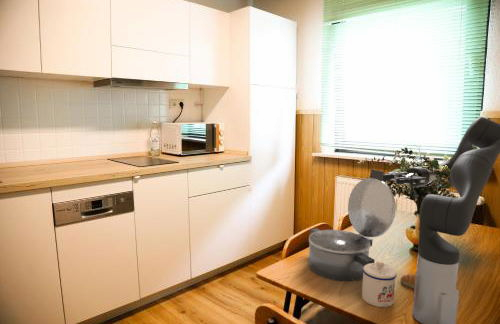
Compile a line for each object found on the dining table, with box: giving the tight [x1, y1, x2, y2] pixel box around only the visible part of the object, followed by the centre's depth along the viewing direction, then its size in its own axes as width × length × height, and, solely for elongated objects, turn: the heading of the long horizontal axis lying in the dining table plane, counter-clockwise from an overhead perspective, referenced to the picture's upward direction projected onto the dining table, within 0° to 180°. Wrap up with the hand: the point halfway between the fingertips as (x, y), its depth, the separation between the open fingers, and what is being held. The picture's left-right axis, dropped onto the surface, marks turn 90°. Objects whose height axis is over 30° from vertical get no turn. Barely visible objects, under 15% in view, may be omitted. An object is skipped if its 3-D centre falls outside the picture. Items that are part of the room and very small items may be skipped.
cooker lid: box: [347, 168, 397, 238], centre depth 121 cm, size 21×24×4 cm
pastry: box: [400, 274, 416, 290], centre depth 107 cm, size 9×7×4 cm
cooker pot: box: [308, 227, 376, 282], centre depth 118 cm, size 31×23×10 cm
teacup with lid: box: [361, 260, 397, 308], centre depth 98 cm, size 12×9×12 cm
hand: (389, 179), depth 123 cm, fingers open, 5 cm apart
